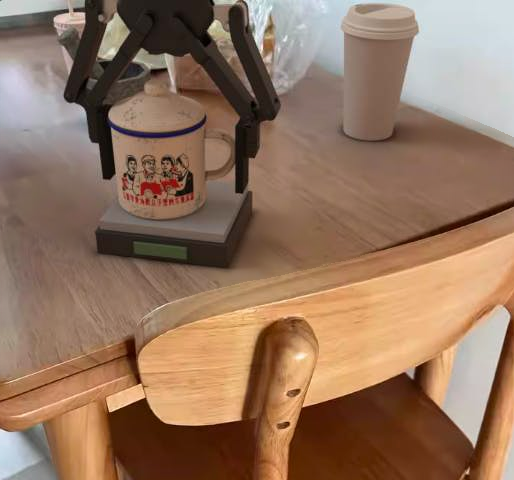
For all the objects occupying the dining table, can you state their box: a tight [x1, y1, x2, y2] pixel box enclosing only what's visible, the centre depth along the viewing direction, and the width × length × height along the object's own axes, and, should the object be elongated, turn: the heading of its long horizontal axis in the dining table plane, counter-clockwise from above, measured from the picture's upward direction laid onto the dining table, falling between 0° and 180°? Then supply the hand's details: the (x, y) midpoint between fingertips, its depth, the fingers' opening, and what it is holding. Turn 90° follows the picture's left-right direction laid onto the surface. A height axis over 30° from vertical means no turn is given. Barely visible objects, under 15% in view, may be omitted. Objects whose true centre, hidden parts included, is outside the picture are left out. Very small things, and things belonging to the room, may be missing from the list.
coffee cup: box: [340, 2, 420, 142], centre depth 93 cm, size 10×10×15 cm
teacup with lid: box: [107, 79, 235, 220], centre depth 69 cm, size 12×9×12 cm
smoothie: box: [53, 0, 98, 76], centre depth 105 cm, size 6×6×14 cm
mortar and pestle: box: [57, 28, 152, 106], centre depth 95 cm, size 11×9×12 cm
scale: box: [94, 179, 253, 269], centre depth 74 cm, size 13×12×3 cm
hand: (175, 181), depth 72 cm, fingers open, 12 cm apart
